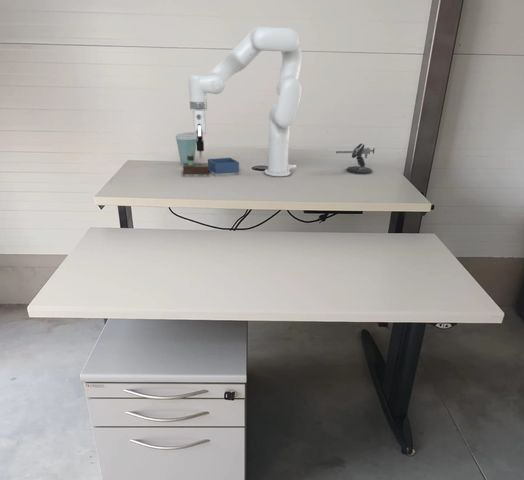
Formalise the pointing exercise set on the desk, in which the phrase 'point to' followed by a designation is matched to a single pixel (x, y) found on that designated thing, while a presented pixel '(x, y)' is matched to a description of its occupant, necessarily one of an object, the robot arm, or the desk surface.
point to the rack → (195, 168)
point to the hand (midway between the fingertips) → (200, 149)
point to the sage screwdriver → (190, 158)
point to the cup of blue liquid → (186, 145)
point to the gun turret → (359, 159)
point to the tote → (223, 165)
